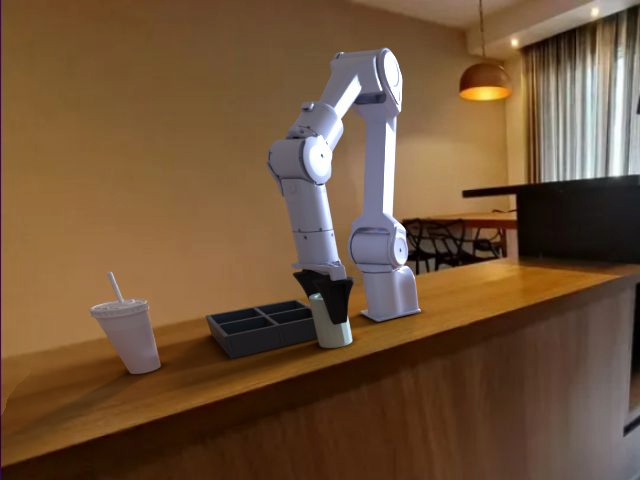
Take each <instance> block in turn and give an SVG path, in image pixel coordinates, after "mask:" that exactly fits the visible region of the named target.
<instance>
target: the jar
mask: <svg viewBox="0 0 640 480" xmlns="http://www.w3.org/2000/svg"><path fill="white" fill-rule="evenodd" d="M309 301H310V302H309ZM308 302H309V306H310V307H311V310H312V315H313V319H314V324H315V328H316V333H317V337H318V338H317V342H318V345H319V347H320V348H324V349H337V348H341V347H342V348H343V347H346V346H348V345H350V344H351V343H353V335H352V329H351V326H350V321H349V317H348V318H347V322H346V323H341V324H337V325H334V324H333V323H332V321H331V319H330V317H329V314H328V311H327V308H326V305H325V303H324V300H323V298H322V296H321V294H320V293H316V294H313V295H311V296H309V300H308Z"/></svg>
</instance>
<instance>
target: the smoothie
mask: <svg viewBox="0 0 640 480" xmlns="http://www.w3.org/2000/svg"><path fill="white" fill-rule="evenodd" d="M106 275H107V277H108V279H109V281H110V284H111V286H112V289H113V291H114V294H115V296H116V298H117V300H113V301H112V300H111V301H107V302H103V303H100V304H96V305H92V307H90V308H88V311H89V313H90V317H91V318H93V319H95V320H96V321H97V323H98V325H99V326H100V328H101V329H102V331H103V332H104V334H105V335H106V338H107V339H108V340H109V342H110V343H111V345H112V347H113V348H114V350H115V352H116V353H117V354H118V356H119V358H120V359H121V361H122V363H123V364H124V366H125V367H126V369H127V371H128V372H129V374H133V375H139V374H146V373H150V372H153V371H156V370H158V369H159V368H161V366H162V365H161V360H160V355H159V351H158V348H157V343H156V339H155V334H154V331H153V327H152V322H151V321H152V320H151V318H150V313H149V309H150V308H151V307H150V306H151V305H149V302H148V300H146V299H143V298H128V299H124V297H123V296H122V295H123V294H122V293H121V291H120V288H119V285H118V284H117V281H116V278H115V276H114V274H113V271H106Z"/></svg>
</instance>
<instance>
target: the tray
mask: <svg viewBox="0 0 640 480" xmlns="http://www.w3.org/2000/svg"><path fill="white" fill-rule="evenodd" d="M205 319H206V323H207V325H208V329H209V332H210V334H211V336H212V337H213V338H214V340H215V341H216V342H217V343H218V344H219V346H220V347H221V348H222V349H223V351H224V352H225V353H226V354H227V355H228V357H229V358H230V359H231V360H232V359H237V358H241V357H245V356H250V355H254V354H258V353H261V352H267V351H270V350H275V349H278V348H279V349H280V348H283V347H286V346H287V347H288V346H292V345H296V344H301V343H304V342H309V341H313V340H318V337H317V333H316V328H315V324H314V319H313V315H312V310H311V306H310V305H308V304H306V303H304V302H303V301H300V300H299V299H291V300H290V299H289V300H284V301H279V302H274V303H267V304H262V305H256V306H251V307H245V308H240V309H235V310H229V311H224V312H218V313H211V314H207V315H205Z"/></svg>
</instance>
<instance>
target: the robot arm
mask: <svg viewBox="0 0 640 480" xmlns="http://www.w3.org/2000/svg"><path fill="white" fill-rule="evenodd" d="M399 66H400V65H399V62H398V60H397V58H396V57H395V55H394V54H393V52H392V51H391V50H390V49H389V48H388V47H381V48H380V49H372V50H371V49H369V50H361V51H352V52H350V51H349V52H343V51H339V52H337V53H335V54H334V56H333V59H332V60H330V62H329V68H330V73H331V75H330V77H329V78H328V81H327V83H326V86H325V88H324V90H323V91H322V93H321V96H320V98H319V100H311V101H306V102H305V101H304V102H303V103H302V104H301V106H300V110H301V112H300V113H299V115H298V117H297V118H296V119H295V121H294V122H293V125H290V126H289V127H288V130H287V133H286V136H285V137H284V139H276V140H275V141H273V143H272V144H271V146H270V147H269V149H268V152H267V160H266V161H265V164H266V167H267V169H268V172H269V174H270V175H271V178H273V180H275V183H276V184H277V187H278V192H279V194H281V196H282V197H283V198H284V201H285V205H286V210H287V215H288V220H289V223H290V229H291V233H292V237H293V240H294V246H295V251H296V256H297V261H294V262H291V263H290V267H291V268H292V269H294V270H301V271H295V272H293V273H292V276H293V277H294V279H295V280H296V281H297V282H298V284H299V285H300V286H301V288H302V289H303V292H304V293H305V295H306V298H307V300H308V302H309V303H310V301H309V296H311V295H313V294H316V293H320V294H321V296H322V298H323V300H324V303H325V305H326V308H327V311H328V314H329V317H330V319H331V321H332V323H333V324H334V325H337V324H341V323H346V322H347V318H348V319H349V301H350V297H351V292H352V288H353V286H354V284H355V278H354V277H352V276H347V274H346V268H345V265H343V264H342V262H341V259H340V258H339V253H338V247H337V243H336V237H335V232H334V227H333V221H332V216H331V211H330V210H331V209H330V205H329V199H328V193H327V188H326V183H327V182H328V181H329V179H331V176H332V159H333V152H334V149H335V148H336V146H337V144H338V142H339V140H340V139H341V138H342V136H343V134H344V133H343V132H344V124H343V121H342V118H343V117H344V116H345V114H346V113H347V112H348V111H349V109H350V108H351V110H352V111H353V112H354V114H355V115H356V116H358V117H360V118H362V119H363V120H364V121H365V146H364V147H365V149H364V150H365V151H364V153H365V154H364V180H363V206H362V213H361V214H360V215H359V216H358V217H357V218H355V220H354V221H352V223H351V225H350V235H349V237H348V240H347V244H346V251H347V255H348V258H349V260H350V261H351V263H352V264H353V265H354V266H356V268H357V271H360V272H361V278H362V283H363V289H364V297H365V302H366V308H367V309H364V310H360V312H359V313H360V315H363V316H365V317H367V318H369V319H371V320H373V321H375V322H384V321H387V320H393V319H395V318H400V317H404V316H409V315H413V314H417V313H421V312H422V311H421V309H420V308H419V299H418V293H417V283H416V278H415V275H414V273H413V271H412V269H411V268H410V267H409V266H407V265H405V264H406V263H407V260H408V256H409V248H408V243H407V231H406V229H405V227H404V226H403V225H402V224H401V222H399V221H398V220H397V219H396V218H395V217H394V216H393V212H394V211H393V210H394V190H395V189H394V187H395V167H396V166H395V165H396V164H395V163H396V143H397V142H396V141H397V116H398V115H399V114H400V113H401V111H402V91H403V78H402V77H403V76H402V72H401V70H400V67H399Z"/></svg>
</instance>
